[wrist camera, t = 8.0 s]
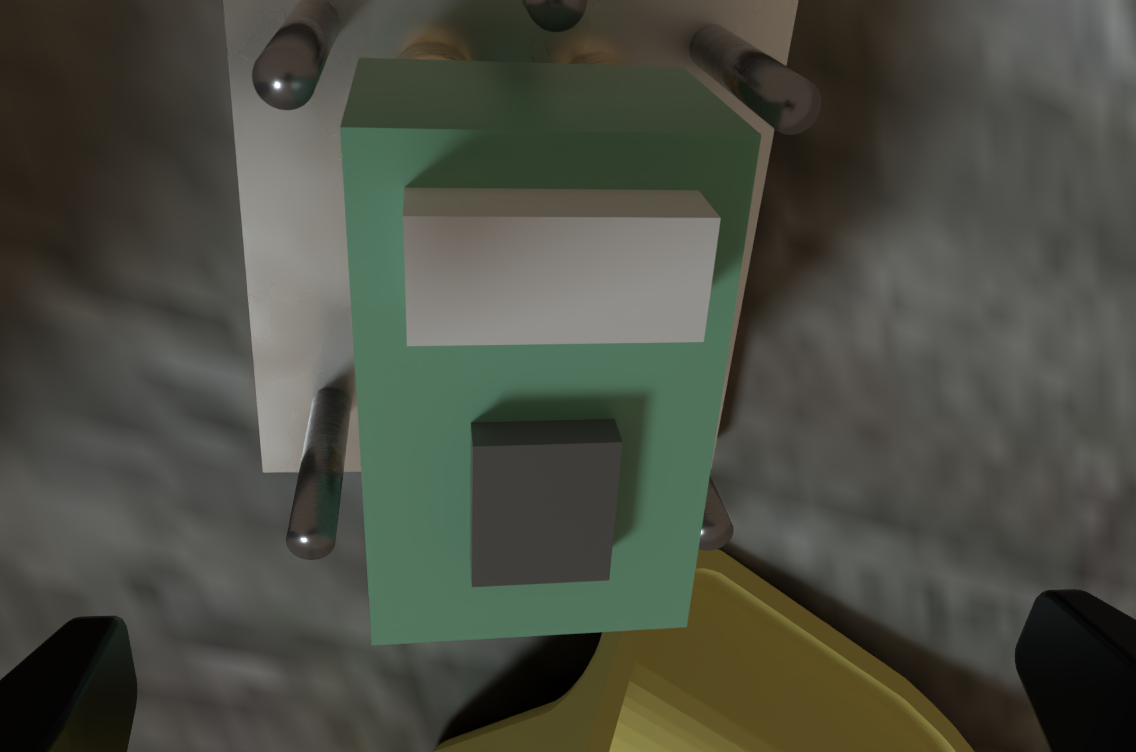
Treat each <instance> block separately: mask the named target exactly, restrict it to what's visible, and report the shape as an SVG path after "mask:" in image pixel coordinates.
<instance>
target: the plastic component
mask: <svg viewBox="0 0 1136 752" xmlns="http://www.w3.org/2000/svg"><path fill="white" fill-rule="evenodd" d="M432 752H975V751H974V750H973V749H972V748H971V746H970V745H969V744H968V743H967V741H966V740H965V739H964V738H963V736H962V735H961V734H960V733H959V731H958V730H957V729H956V728H955V727H954V725H953V724H952V723H951V722H950V721H949V720H948V719H947V718H946V717H945V716H944V715H943V714H942V713H941V712H940V711H939V710H938V708H937V707H936V706H935V705H934V704H933V703H932V702H931V701H929V700H928V699H927V698H926V697H925V696H924V695H923V694H922V693H921V692H920V691H919V690H918V689H917V688H915V687H914V686H913V685H912V684H911V683H910V682H909V681H908V680H907V679H906V678H904V677H903V676H901V675H900V674H899V673H897V672H896V671H894V670H893V669H891V668H890V667H888V666H887V665H886V664H884V663H883V662H881V661H880V660H878V659H877V658H876V657H874V656H873V655H871V654H870V653H868V652H867V651H865V650H864V649H863V648H861V647H860V646H858V645H857V644H855V643H854V642H852V641H851V640H850V639H848V638H847V637H845V636H844V635H842V634H841V633H839V632H838V631H837V630H835V629H834V628H832V627H831V626H829V625H828V624H827V623H825V622H824V621H822V620H821V619H819V618H818V617H816V616H815V615H814V614H812V613H811V612H809V611H808V610H806V609H805V608H803V607H802V606H801V605H799V604H798V603H796V602H795V601H793V600H792V599H790V598H789V597H788V596H786V595H785V594H783V593H782V592H780V591H779V590H778V589H776V588H775V587H773V586H772V585H770V584H769V583H767V582H766V581H765V580H763V579H762V578H760V577H759V576H757V575H756V574H754V573H753V572H752V571H750V570H749V569H747V568H746V567H744V566H743V565H741V564H740V563H739V562H737V561H736V560H734V559H733V558H731V557H730V556H729V555H727V554H726V553H724V552H723V551H721V550H719V549H716V550H711V551H705V550H700V549H698V556H697V562H696V569H695V576H694V582H693V589H692V595H691V602H690V608H689V615H688V622H687V627H681V628H664V629H647V630H630V631H613V632H602V635H601V639H600V642H599V644H598V646H597V649H596V651H595V654H594V655H593V657H592V659H591V661H590V663H589V664H588V666H587V668H586V670H585V672H584V673H583V675H582V676H581V677H580V678H579V679H578V681H577V682H576V683H575V684H574V685H573V687H572V688H571V689H570V690H569V691H568V692H567V693H566V694H564V695H563V696H562V697H560V698H559V699H557V700H556V701H554V702H551V703H548V704H545V705H543V706H540V707H537V708H534V709H532V710H529V711H526V712H523V713H520V714H518V715H515V716H512V717H509V718H507V719H504V720H501V721H498V722H495V723H493V724H490V725H487V726H484V727H482V728H479V729H476V730H473V731H470V732H468V733H465V734H462V735H459V736H457V737H454V738H451V739H449V740H447V741H445V742H443V743H441V744H440V745H438V746H437V747H436V748H435V749H434V750H433V751H432Z"/></svg>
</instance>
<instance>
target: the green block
mask: <svg viewBox="0 0 1136 752" xmlns="http://www.w3.org/2000/svg"><path fill="white" fill-rule="evenodd" d="M340 135H341V151H342V168H343V184H344V200H345V217H346V233H347V249H348V265H349V282H350V298H351V314H352V331H353V347H354V363H355V379H356V396H357V412H358V428H359V445H360V461H361V477H362V493H363V510H364V526H365V542H366V559H367V575H368V591H369V607H370V624H371V640H372V645H389V644H406V643H423V642H441V641H458V640H475V639H492V638H509V637H527V636H544V635H561V634H578V633H595V632H613V631H630V630H647V629H664V628H681V627H687V622H688V615H689V608H690V602H691V595H692V589H693V582H694V576H695V569H696V562H697V556H698V549H699V543H700V536H701V530H702V523H703V516H704V510H705V503H706V497H707V490H708V484H709V477H710V470H711V464H712V457H713V451H714V444H715V438H716V431H717V424H718V418H719V411H720V405H721V398H722V392H723V385H724V378H725V372H726V365H727V359H728V352H729V346H730V339H731V332H732V326H733V319H734V313H735V306H736V300H737V293H738V286H739V280H740V273H741V267H742V260H743V253H744V247H745V240H746V234H747V227H748V221H749V214H750V207H751V201H752V194H753V188H754V181H755V175H756V168H757V161H758V155H759V148H760V142H761V134H760V133H759V132H757V131H756V130H755V129H754V128H753V127H752V126H751V125H749V124H748V123H747V122H746V121H745V120H744V119H742V118H741V117H740V116H739V115H738V114H737V113H736V112H734V111H733V110H732V109H731V108H730V107H729V106H727V105H726V104H725V103H724V102H723V101H722V100H721V99H719V98H718V97H717V96H716V95H715V94H714V93H712V92H711V91H710V90H709V89H708V88H707V87H706V86H704V85H703V84H702V83H701V82H700V81H699V80H697V79H696V78H695V77H694V76H693V75H692V74H691V73H689V72H688V71H687V70H686V69H685V68H684V67H667V66H632V65H598V64H563V63H528V62H493V61H458V60H423V59H388V58H359V59H358V63H357V67H356V70H355V74H354V78H353V81H352V85H351V89H350V92H349V96H348V100H347V103H346V107H345V111H344V115H343V118H342V122H341V126H340Z"/></svg>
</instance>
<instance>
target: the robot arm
mask: <svg viewBox="0 0 1136 752" xmlns="http://www.w3.org/2000/svg"><path fill="white" fill-rule="evenodd" d="M1015 664H1016V669H1017V672H1018V675H1019V677H1020V680H1021V682H1022V684H1023V687H1024V689H1025V692H1026V694H1027V696H1028V699H1029V701H1030V704H1031V706H1032V708H1033V711H1034V713H1035V716H1036V718H1037V720H1038V723H1039V725H1040V728H1041V730H1042V732H1043V735H1044V737H1045V740H1046V742H1047V744H1048V747H1049V749H1050V752H1136V620H1135V619H1133V618H1132V617H1130V616H1128V615H1126V614H1125V613H1123V612H1121V611H1119V610H1118V609H1116V608H1114V607H1112V606H1111V605H1109V604H1107V603H1105V602H1104V601H1102V600H1100V599H1098V598H1097V597H1095V596H1093V595H1091V594H1090V593H1088V592H1086V591H1082V590H1077V589H1066V590H1047V591H1044V592H1042V593H1041V594H1040V595H1039V596H1038V597H1037V598H1036V600H1035V601H1034V604H1033V606H1032V609H1031V611H1030V613H1029V616H1028V618H1027V621H1026V623H1025V625H1024V628H1023V630H1022V633H1021V635H1020V637H1019V640H1018V642H1017V645H1016V648H1015ZM136 702H137V679H136V673H135V668H134V662H133V657H132V652H131V646H130V641H129V635H128V630H127V626H126V624H125V622H124V621H123V619H122V618H120V617H118V616H86V617H77V618H74V619H72V620H70V621H68V622H67V623H66V624H64V625H63V626H62V627H61V628H60V629H59V630H57V631H56V632H55V633H54V634H53V635H52V636H51V637H49V638H48V639H47V640H46V641H45V642H44V643H42V644H41V645H40V646H39V647H38V648H37V649H35V650H34V651H33V652H32V653H31V654H30V655H29V656H27V657H26V658H25V659H24V660H23V661H22V662H20V663H19V664H18V665H17V666H16V667H15V668H14V669H12V670H11V671H10V672H9V673H8V674H7V675H5V676H4V677H3V678H2V679H1V680H0V752H127V748H128V744H129V739H130V734H131V729H132V724H133V719H134V714H135V709H136Z"/></svg>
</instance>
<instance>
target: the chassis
mask: <svg viewBox="0 0 1136 752" xmlns="http://www.w3.org/2000/svg"><path fill="white" fill-rule="evenodd" d="M798 1H799V0H223V7H224V19H225V31H226V42H227V54H228V66H229V78H230V90H231V101H232V113H233V125H234V137H235V149H236V160H237V172H238V184H239V196H240V208H241V219H242V231H243V243H244V255H245V266H246V278H247V290H248V302H249V314H250V325H251V337H252V349H253V361H254V373H255V384H256V396H257V408H258V420H259V431H260V443H261V455H262V467H263V472H299V474H298V480H297V485H296V490H295V495H294V501H293V506H292V511H291V517H290V522H289V527H288V533H287V538H286V543H287V547H288V549H289V550H290V551H291V552H292V553H293V554H294V555H296V556H297V557H299V558H302V559H307V560H315V559H320V558H323V557H325V556H327V555H328V554H329V553H330V552H331V551H332V550H333V548H334V546H335V540H336V531H337V523H338V514H339V506H340V497H341V489H342V481H343V472H355V471H361V461H360V445H359V428H358V412H357V396H356V379H355V363H354V347H353V331H352V314H351V298H350V282H349V265H348V249H347V233H346V217H345V200H344V184H343V168H342V151H341V135H340V126H341V122H342V118H343V115H344V111H345V107H346V103H347V100H348V96H349V92H350V89H351V85H352V81H353V78H354V74H355V70H356V67H357V63H358V59H359V58H388V59H423V60H458V61H493V62H528V63H563V64H598V65H632V66H667V67H684V68H685V69H686V70H687V71H688V72H689V73H691V74H692V75H693V76H694V77H695V78H696V79H697V80H699V81H700V82H701V83H702V84H703V85H704V86H706V87H707V88H708V89H709V90H710V91H711V92H712V93H714V94H715V95H716V96H717V97H718V98H719V99H721V100H722V101H723V102H724V103H725V104H726V105H727V106H729V107H730V108H731V109H732V110H733V111H734V112H736V113H737V114H738V115H739V116H740V117H741V118H742V119H744V120H745V121H746V122H747V123H748V124H749V125H751V126H752V127H753V128H754V129H755V130H756V131H757V132H759V133H760V134H761V142H760V148H759V155H758V161H757V168H756V175H755V181H754V188H753V194H752V201H751V207H750V214H749V221H748V227H747V234H746V240H745V247H744V253H743V260H742V267H741V273H740V280H739V286H738V293H737V300H736V306H735V313H734V319H733V326H732V332H731V339H730V346H729V352H728V359H727V365H726V372H725V378H724V385H723V392H722V398H721V405H720V411H719V418H718V424H717V431H716V438H715V444H714V451H715V446H716V441H717V435H718V430H719V425H720V419H721V414H722V409H723V403H724V398H725V392H726V387H727V382H728V376H729V371H730V366H731V360H732V355H733V349H734V344H735V339H736V333H737V328H738V323H739V317H740V312H741V307H742V301H743V296H744V290H745V285H746V280H747V274H748V269H749V264H750V258H751V253H752V248H753V242H754V237H755V231H756V226H757V221H758V215H759V210H760V205H761V199H762V194H763V188H764V183H765V178H766V172H767V167H768V162H769V156H770V151H771V146H772V140H773V135H774V129H775V130H776V131H778V132H780V133H782V134H785V135H795V134H799V133H801V132H804V131H805V130H807V129H808V128H810V127H811V126H812V125H813V124H814V122H815V121H816V120H817V118H818V116H819V114H820V111H821V106H822V99H821V94H820V91H819V89H818V88H817V86H816V85H815V84H814V83H812V82H811V81H809V80H808V79H806V78H805V77H803V76H801V75H800V74H798V73H796V72H795V71H793V70H792V69H790V68H788V67H787V66H786V65H787V60H788V54H789V49H790V44H791V38H792V33H793V27H794V22H795V17H796V11H797V6H798ZM714 451H713V457H714ZM713 457H712V462H713ZM711 468H712V464H711ZM732 535H733V525H732V523H731V521H730V518H729V516H728V514H727V512H726V510H725V508H724V505H723V503H722V501H721V499H720V497H719V494H718V492H717V490H716V488H715V486H714V483H713V481H712V479H711V477H709V484H708V490H707V497H706V503H705V510H704V516H703V523H702V530H701V536H700V543H699V549H700V550H705V551H711V550H716V549H718V548H721V547H722V546H724V545H725V544H726V543H727V542H728V541H729V540H730V539H731V537H732Z"/></svg>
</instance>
